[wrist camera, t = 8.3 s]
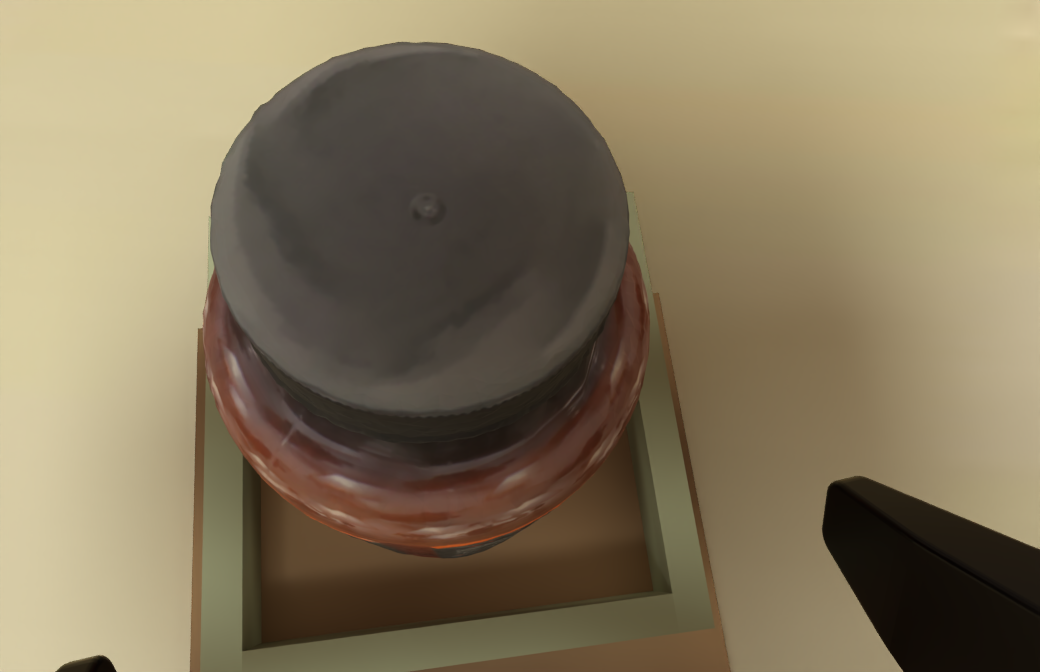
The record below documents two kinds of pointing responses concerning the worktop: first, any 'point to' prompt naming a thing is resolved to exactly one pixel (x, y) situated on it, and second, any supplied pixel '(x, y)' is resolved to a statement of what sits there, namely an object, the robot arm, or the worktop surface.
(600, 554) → the wooden tray
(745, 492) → the worktop surface
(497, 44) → the worktop surface
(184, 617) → the worktop surface
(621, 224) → the supplement bottle
